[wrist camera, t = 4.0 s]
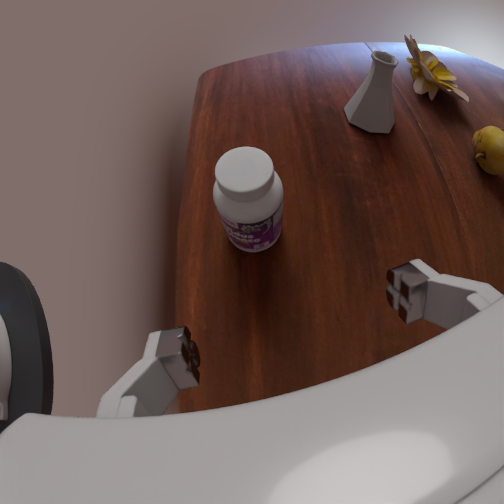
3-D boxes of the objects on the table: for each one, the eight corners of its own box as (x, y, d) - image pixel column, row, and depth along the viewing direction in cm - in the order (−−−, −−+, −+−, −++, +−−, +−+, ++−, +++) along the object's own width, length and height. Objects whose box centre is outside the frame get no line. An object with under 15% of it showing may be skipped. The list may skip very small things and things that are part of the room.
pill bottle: (221, 249, 27) (193, 196, 18) (233, 201, 28) (214, 137, 19) (277, 258, 26) (277, 206, 17) (285, 208, 28) (288, 142, 19)
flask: (344, 95, 33) (354, 38, 24) (392, 108, 32) (410, 54, 23) (341, 126, 31) (353, 62, 22) (394, 141, 30) (419, 82, 20)
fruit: (501, 167, 21) (531, 161, 21) (477, 116, 22) (510, 117, 22) (471, 184, 28) (504, 175, 28) (451, 139, 29) (487, 135, 29)
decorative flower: (471, 121, 29) (481, 68, 20) (407, 106, 33) (409, 50, 25) (455, 81, 34) (458, 38, 26) (403, 70, 39) (401, 26, 30)
